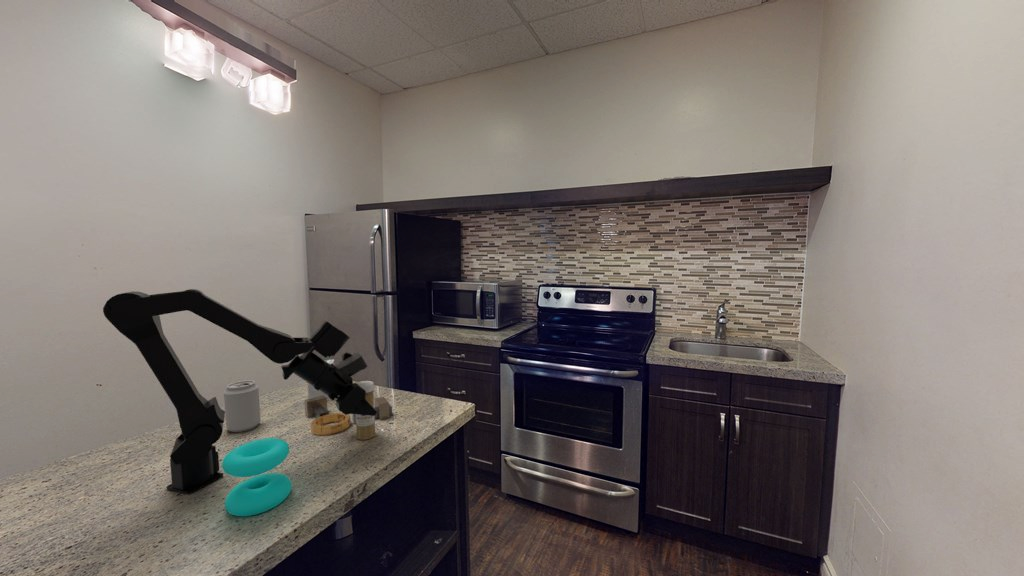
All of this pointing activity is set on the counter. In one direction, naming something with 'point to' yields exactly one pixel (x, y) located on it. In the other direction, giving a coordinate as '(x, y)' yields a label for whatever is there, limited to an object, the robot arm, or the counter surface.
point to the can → (242, 406)
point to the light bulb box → (316, 393)
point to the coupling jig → (338, 415)
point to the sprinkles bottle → (366, 422)
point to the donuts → (261, 488)
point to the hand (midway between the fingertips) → (370, 408)
